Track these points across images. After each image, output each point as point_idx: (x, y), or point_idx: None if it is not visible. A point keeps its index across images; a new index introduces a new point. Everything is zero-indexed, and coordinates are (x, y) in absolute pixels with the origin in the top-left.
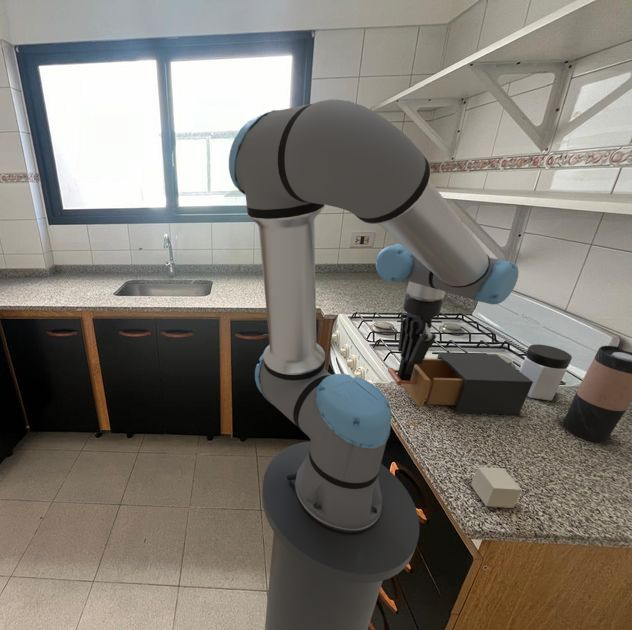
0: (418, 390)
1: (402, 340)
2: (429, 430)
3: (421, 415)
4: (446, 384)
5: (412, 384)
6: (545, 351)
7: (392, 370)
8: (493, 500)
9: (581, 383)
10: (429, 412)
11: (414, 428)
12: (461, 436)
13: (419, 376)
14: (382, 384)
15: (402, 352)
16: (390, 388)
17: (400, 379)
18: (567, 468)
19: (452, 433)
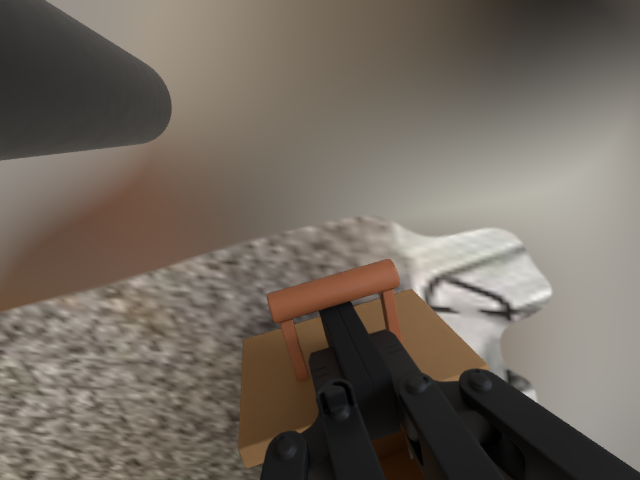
0: (270, 370)
1: (548, 465)
2: (123, 357)
3: (209, 340)
4: None
5: (323, 348)
6: None
7: (373, 284)
8: None
9: None
10: (240, 364)
11: (109, 313)
12: (138, 435)
13: (297, 414)
14: (381, 224)
15: (424, 405)
16: (359, 252)
17: (288, 316)
18: None
19: (142, 415)
